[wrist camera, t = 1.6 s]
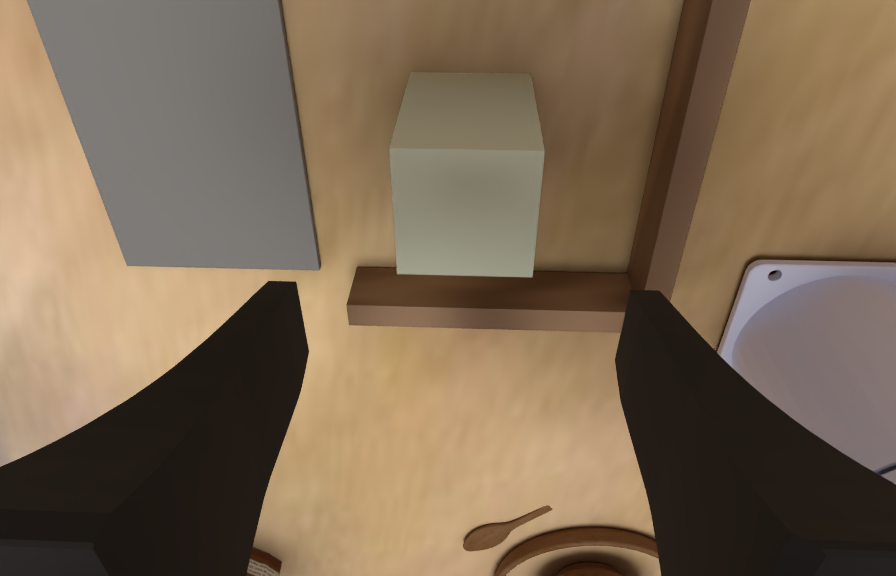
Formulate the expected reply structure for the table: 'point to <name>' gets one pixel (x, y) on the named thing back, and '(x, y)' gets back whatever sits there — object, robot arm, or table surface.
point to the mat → (187, 127)
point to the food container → (263, 564)
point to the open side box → (658, 231)
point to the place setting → (557, 544)
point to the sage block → (467, 175)
